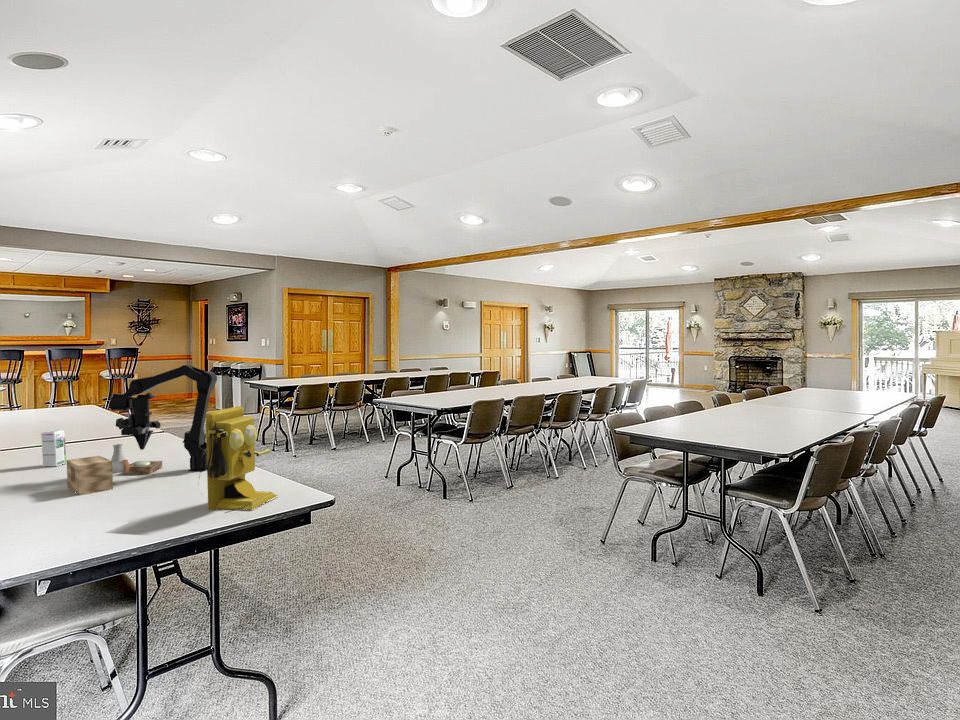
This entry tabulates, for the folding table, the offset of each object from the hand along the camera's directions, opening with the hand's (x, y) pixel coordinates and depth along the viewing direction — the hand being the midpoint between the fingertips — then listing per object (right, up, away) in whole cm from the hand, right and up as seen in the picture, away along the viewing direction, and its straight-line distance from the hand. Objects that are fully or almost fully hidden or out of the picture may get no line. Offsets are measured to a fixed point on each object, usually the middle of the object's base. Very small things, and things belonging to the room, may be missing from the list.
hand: (142, 449), depth 229 cm
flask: (-12, -9, +5) cm, 16 cm away
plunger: (+2, -6, -20) cm, 21 cm away
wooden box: (-3, -10, -25) cm, 28 cm away
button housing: (0, -9, 0) cm, 9 cm away
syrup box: (-44, -9, +12) cm, 46 cm away
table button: (0, -8, 0) cm, 8 cm away
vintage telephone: (+59, -11, -45) cm, 75 cm away
